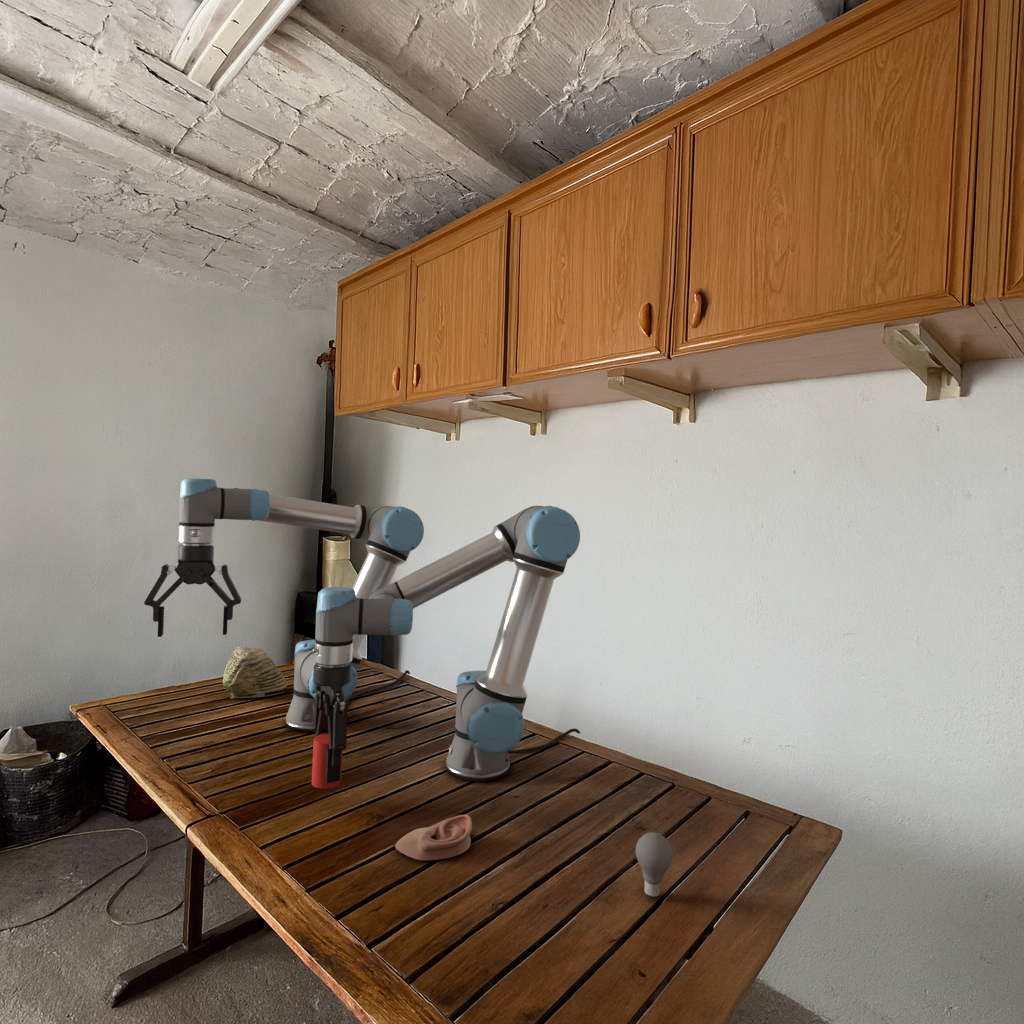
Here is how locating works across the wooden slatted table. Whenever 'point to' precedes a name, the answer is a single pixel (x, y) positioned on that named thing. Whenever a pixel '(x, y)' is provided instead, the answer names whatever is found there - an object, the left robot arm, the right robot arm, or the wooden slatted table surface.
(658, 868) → the light bulb
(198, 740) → the wooden slatted table surface
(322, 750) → the canister
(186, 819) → the wooden slatted table surface
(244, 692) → the fossil
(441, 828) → the anatomical model
